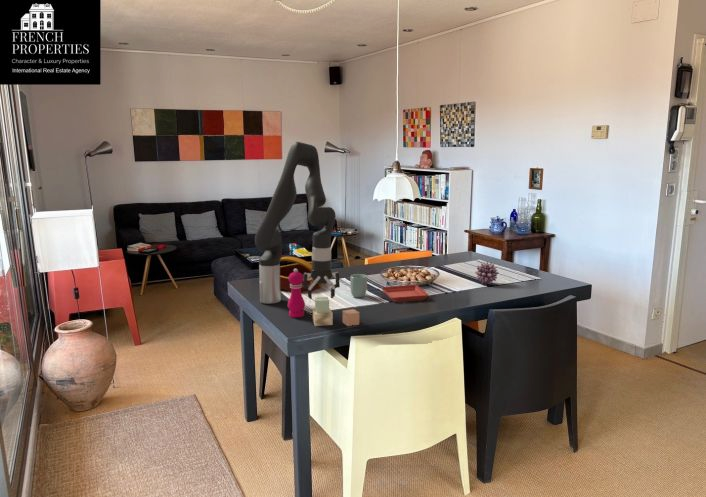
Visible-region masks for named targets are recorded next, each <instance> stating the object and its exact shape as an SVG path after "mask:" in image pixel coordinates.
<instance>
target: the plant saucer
mask: <svg viewBox="0 0 706 497" xmlns="http://www.w3.org/2000/svg"><path fill="white" fill-rule="evenodd" d="M380 289H381V290H382V291H383V293H384V294H385V295H386V296H387V297H388V298H389V299H390V300H391V301H392V302H393V303H399V302H401V303H402V302H413V301H414V302H415V301H417V302H418V301H424V300H425V299H427V298H428V296H430V294H428V292H426V291H424V290H423V289H422V288H421V287H419V286H418V285H417V284H408V285H396V286H395V285H394V286H382V287H380Z"/></svg>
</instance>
